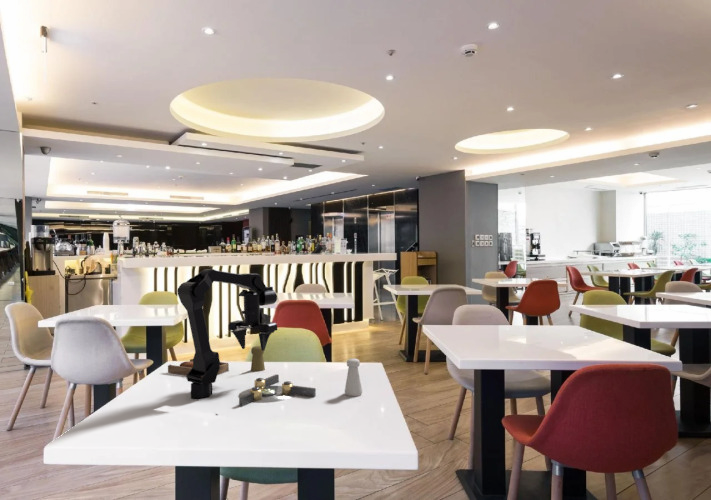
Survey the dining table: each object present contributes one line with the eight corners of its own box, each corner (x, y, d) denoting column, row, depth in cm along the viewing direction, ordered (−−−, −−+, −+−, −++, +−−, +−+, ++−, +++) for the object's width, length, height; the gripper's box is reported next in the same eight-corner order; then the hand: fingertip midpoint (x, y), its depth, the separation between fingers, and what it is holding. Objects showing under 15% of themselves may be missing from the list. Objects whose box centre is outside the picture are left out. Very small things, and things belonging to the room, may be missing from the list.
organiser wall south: (209, 377, 181) (209, 369, 181) (207, 377, 181) (207, 369, 181) (228, 371, 191) (228, 363, 191) (226, 370, 191) (226, 363, 191)
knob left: (261, 391, 156) (260, 380, 156) (252, 390, 157) (252, 379, 157) (281, 382, 167) (281, 372, 167) (273, 381, 168) (273, 371, 168)
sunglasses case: (225, 370, 192) (220, 358, 189) (215, 382, 186) (209, 370, 183) (193, 366, 199) (187, 354, 196) (182, 378, 194) (176, 366, 191)
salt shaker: (360, 401, 148) (360, 361, 149) (343, 400, 149) (342, 360, 150) (363, 396, 154) (363, 357, 154) (347, 395, 155) (346, 357, 155)
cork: (267, 371, 189) (267, 345, 189) (262, 375, 183) (262, 347, 183) (253, 371, 190) (252, 344, 190) (248, 375, 184) (248, 347, 184)
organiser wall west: (205, 377, 180) (205, 370, 180) (167, 372, 188) (167, 365, 188) (207, 377, 181) (207, 369, 181) (170, 372, 190) (170, 364, 190)
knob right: (279, 393, 153) (279, 383, 153) (285, 390, 156) (285, 380, 156) (311, 398, 147) (311, 387, 147) (317, 395, 151) (317, 384, 151)
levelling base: (266, 415, 136) (266, 398, 136) (216, 407, 144) (216, 390, 144) (307, 393, 157) (306, 378, 158) (261, 387, 165) (261, 373, 166)
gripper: (285, 305, 172) (286, 346, 172) (246, 303, 180) (248, 343, 180) (266, 309, 162) (268, 353, 162) (226, 307, 170) (228, 349, 170)
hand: (253, 349), depth 169 cm, fingers open, 9 cm apart
